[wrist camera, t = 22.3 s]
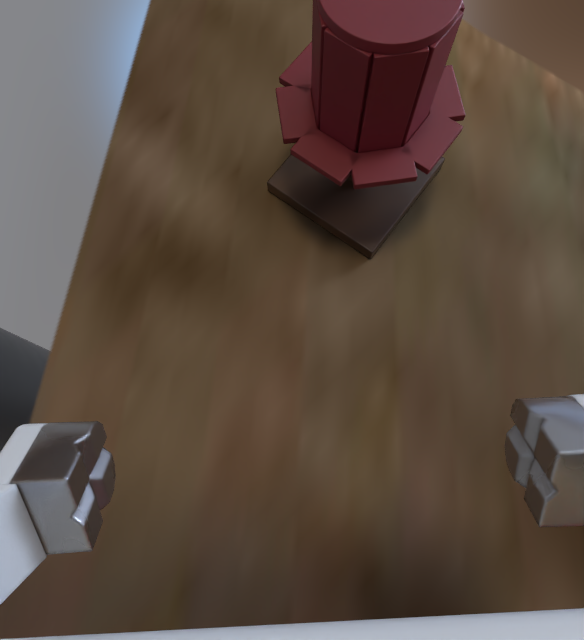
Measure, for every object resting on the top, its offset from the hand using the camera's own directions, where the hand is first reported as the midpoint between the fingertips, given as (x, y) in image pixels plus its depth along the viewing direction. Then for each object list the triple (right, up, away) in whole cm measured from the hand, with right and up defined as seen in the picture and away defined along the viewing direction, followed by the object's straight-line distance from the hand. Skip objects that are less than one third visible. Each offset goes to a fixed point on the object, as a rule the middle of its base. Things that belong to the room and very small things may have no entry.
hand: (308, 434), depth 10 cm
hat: (+4, +15, +20) cm, 25 cm away
